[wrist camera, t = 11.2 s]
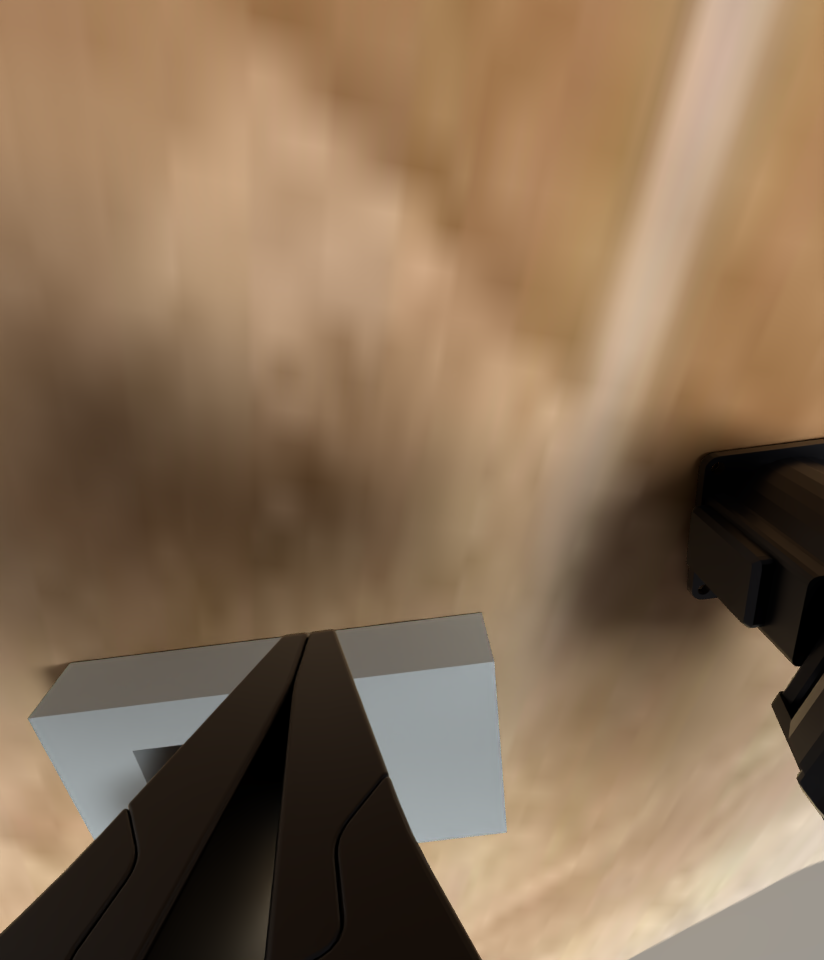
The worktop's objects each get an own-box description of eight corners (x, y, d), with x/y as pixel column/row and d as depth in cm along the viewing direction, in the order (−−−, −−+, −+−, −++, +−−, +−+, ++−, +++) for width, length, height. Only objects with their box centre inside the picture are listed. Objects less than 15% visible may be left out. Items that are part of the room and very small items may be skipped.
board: (481, 612, 23) (494, 661, 21) (494, 773, 27) (506, 832, 25) (69, 663, 24) (27, 718, 21) (142, 815, 28) (115, 878, 25)
